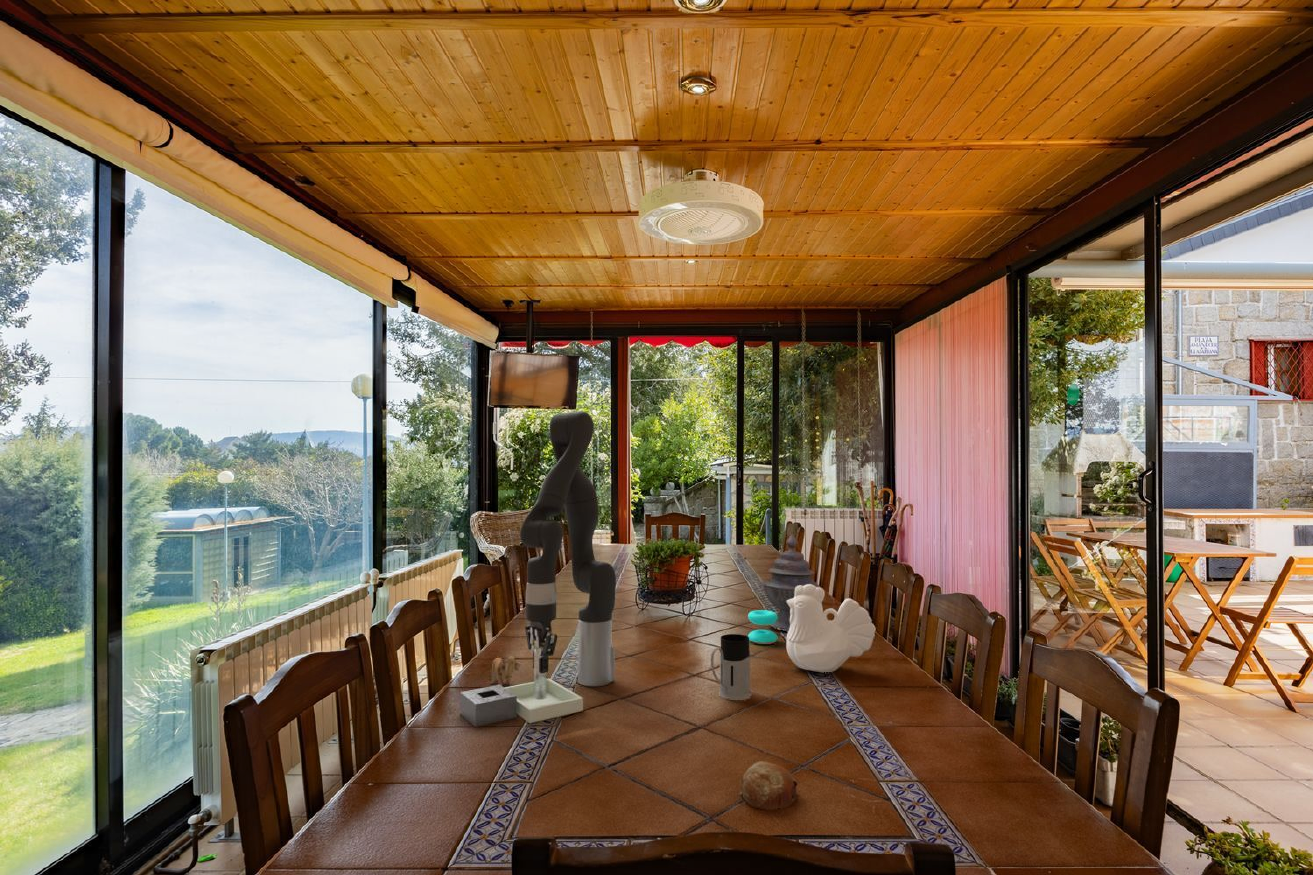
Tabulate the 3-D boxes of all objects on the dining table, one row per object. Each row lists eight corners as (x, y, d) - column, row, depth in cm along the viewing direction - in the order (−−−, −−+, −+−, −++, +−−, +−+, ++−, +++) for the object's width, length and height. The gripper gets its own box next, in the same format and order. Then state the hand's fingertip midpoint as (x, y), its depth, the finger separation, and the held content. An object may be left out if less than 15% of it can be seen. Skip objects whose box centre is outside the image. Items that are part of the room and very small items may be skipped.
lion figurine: (522, 690, 186) (523, 656, 186) (504, 694, 183) (504, 660, 183) (497, 676, 197) (498, 644, 198) (480, 680, 194) (480, 648, 194)
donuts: (779, 610, 240) (775, 616, 230) (779, 639, 239) (775, 647, 230) (750, 608, 243) (745, 614, 233) (750, 637, 242) (745, 644, 233)
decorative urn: (760, 632, 246) (765, 532, 249) (761, 623, 266) (765, 530, 269) (819, 637, 243) (823, 536, 246) (815, 628, 262) (819, 534, 266)
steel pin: (542, 694, 174) (543, 637, 174) (548, 697, 171) (548, 640, 172) (531, 696, 172) (532, 639, 173) (537, 700, 170) (537, 642, 170)
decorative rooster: (780, 673, 201) (780, 587, 202) (793, 659, 216) (793, 578, 217) (870, 685, 191) (869, 594, 192) (877, 669, 205) (877, 585, 206)
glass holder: (758, 694, 183) (758, 637, 184) (725, 708, 173) (725, 647, 173) (731, 687, 189) (731, 631, 190) (698, 700, 179) (698, 641, 179)
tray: (549, 693, 183) (549, 678, 183) (582, 714, 168) (583, 697, 169) (498, 704, 175) (498, 688, 175) (529, 727, 160) (529, 709, 160)
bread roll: (745, 804, 132) (727, 766, 132) (793, 779, 133) (775, 741, 133) (757, 832, 123) (738, 791, 123) (809, 804, 124) (790, 764, 123)
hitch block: (499, 708, 172) (499, 684, 172) (516, 721, 164) (516, 695, 164) (460, 717, 166) (460, 692, 166) (475, 731, 158) (475, 704, 158)
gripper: (567, 603, 169) (567, 675, 169) (542, 593, 180) (541, 661, 180) (539, 607, 165) (539, 680, 164) (515, 597, 176) (514, 666, 176)
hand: (540, 670), depth 172 cm, fingers closed on steel pin, 3 cm apart
